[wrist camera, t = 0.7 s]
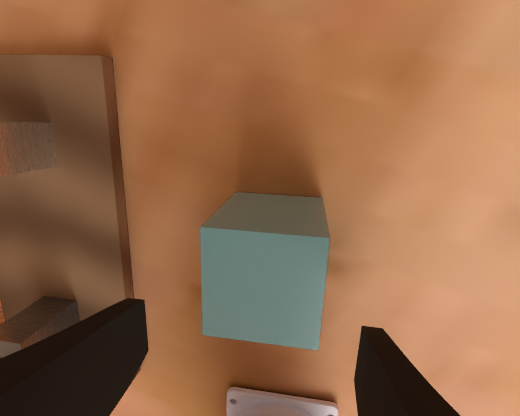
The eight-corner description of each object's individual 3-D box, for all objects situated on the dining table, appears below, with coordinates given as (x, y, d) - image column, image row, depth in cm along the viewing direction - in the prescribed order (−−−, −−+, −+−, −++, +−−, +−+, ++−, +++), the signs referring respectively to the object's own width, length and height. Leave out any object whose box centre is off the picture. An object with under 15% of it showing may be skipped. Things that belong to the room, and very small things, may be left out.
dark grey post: (81, 331, 22) (28, 380, 18) (49, 326, 23) (-11, 374, 18) (76, 299, 22) (20, 343, 17) (43, 295, 22) (-20, 338, 18)
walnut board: (140, 369, 24) (133, 380, 23) (25, 352, 25) (14, 361, 24) (112, 58, 18) (101, 55, 17) (-37, 57, 19) (-55, 54, 18)
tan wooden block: (57, 166, 19) (-16, 179, 15) (20, 164, 19) (-62, 176, 15) (50, 122, 18) (-28, 123, 14) (12, 121, 19) (-76, 121, 14)
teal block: (315, 277, 20) (318, 350, 13) (235, 268, 20) (202, 335, 14) (322, 197, 18) (329, 238, 12) (235, 191, 19) (199, 227, 13)
